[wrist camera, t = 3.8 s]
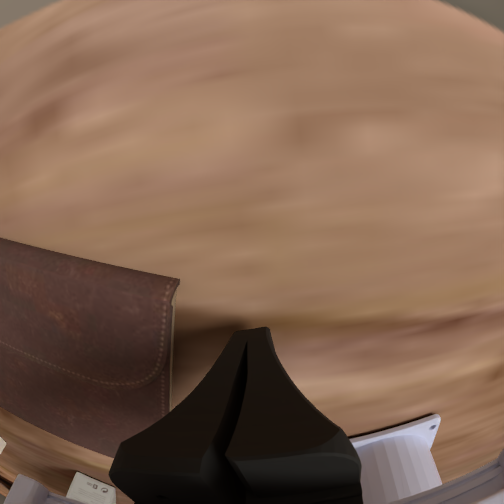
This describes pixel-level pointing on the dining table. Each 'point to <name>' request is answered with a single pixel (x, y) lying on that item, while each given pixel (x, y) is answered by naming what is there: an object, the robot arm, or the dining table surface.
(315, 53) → the dining table surface
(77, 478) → the skincare box
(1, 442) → the bar
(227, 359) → the robot arm
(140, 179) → the dining table surface
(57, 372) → the notebook
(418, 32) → the dining table surface
